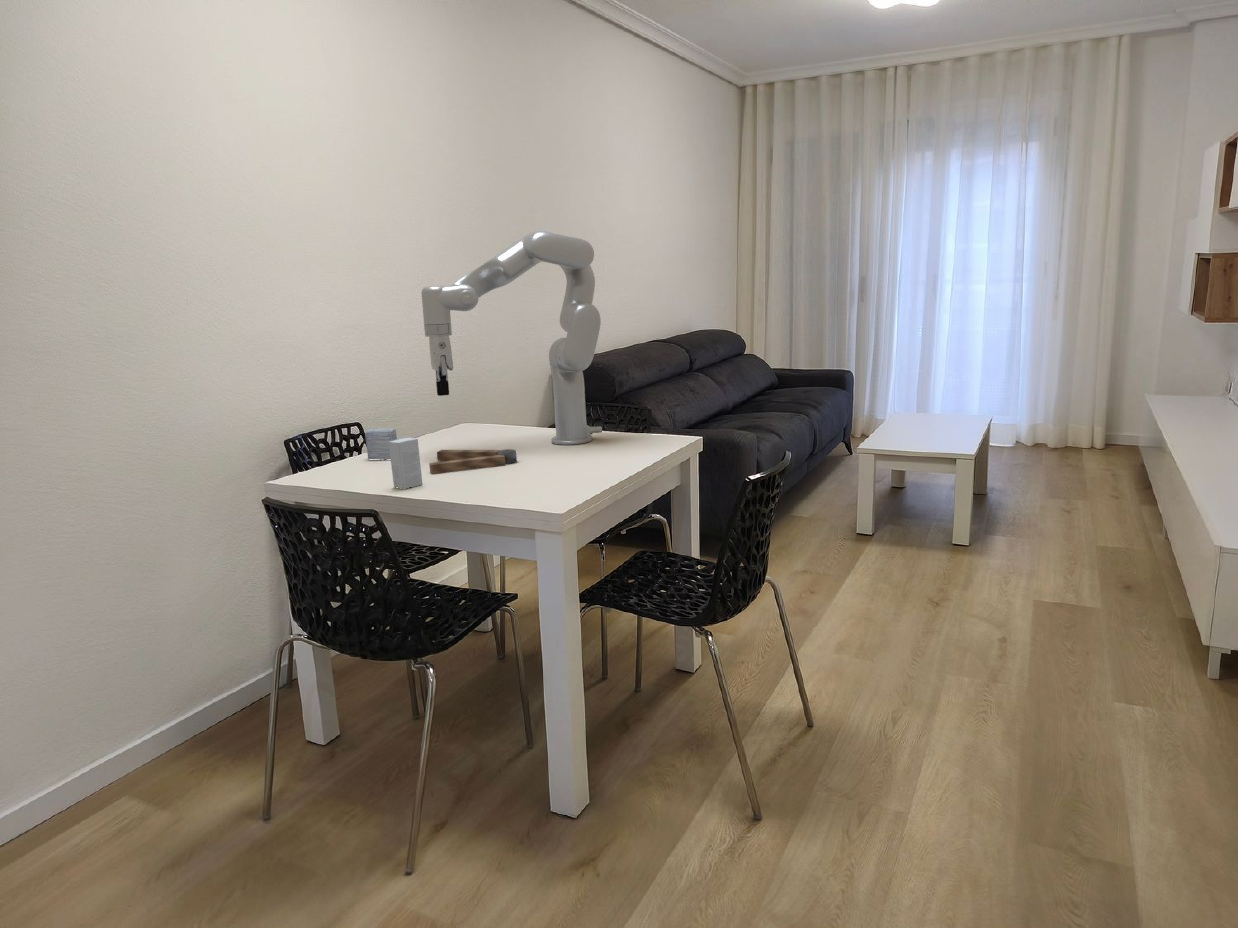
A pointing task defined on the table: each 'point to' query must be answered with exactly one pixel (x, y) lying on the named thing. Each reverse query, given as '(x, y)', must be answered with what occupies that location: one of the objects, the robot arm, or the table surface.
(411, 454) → the skincare box
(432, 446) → the table surface
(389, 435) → the medicine box
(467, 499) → the table surface
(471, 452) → the bar
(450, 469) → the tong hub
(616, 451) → the table surface
